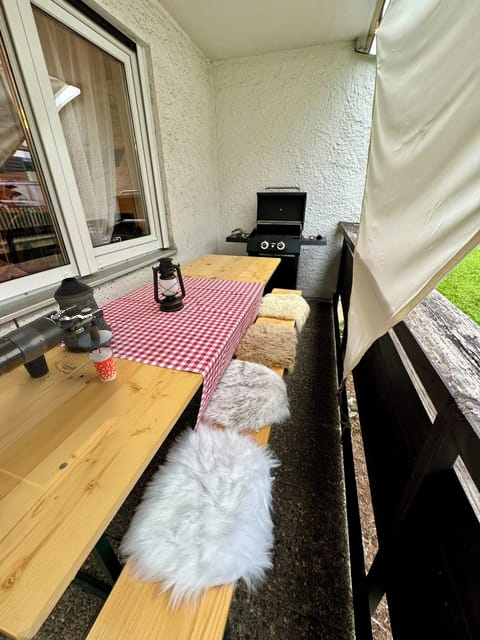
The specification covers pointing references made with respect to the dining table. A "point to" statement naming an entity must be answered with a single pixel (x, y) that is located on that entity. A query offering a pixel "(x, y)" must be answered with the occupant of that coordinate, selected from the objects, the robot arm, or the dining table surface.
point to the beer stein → (82, 297)
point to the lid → (94, 335)
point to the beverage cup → (103, 364)
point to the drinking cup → (35, 363)
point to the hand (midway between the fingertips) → (89, 310)
